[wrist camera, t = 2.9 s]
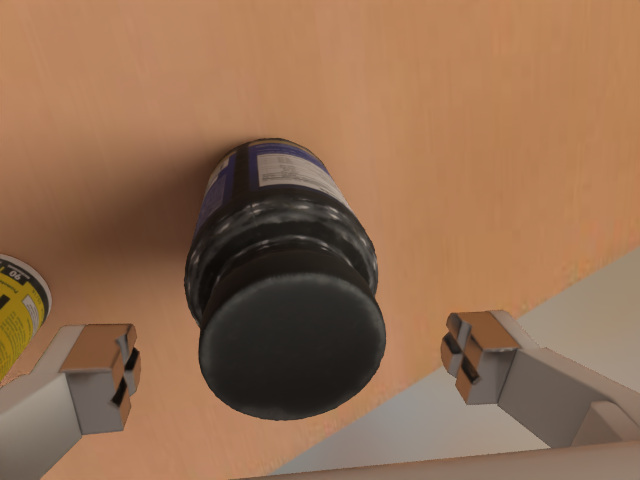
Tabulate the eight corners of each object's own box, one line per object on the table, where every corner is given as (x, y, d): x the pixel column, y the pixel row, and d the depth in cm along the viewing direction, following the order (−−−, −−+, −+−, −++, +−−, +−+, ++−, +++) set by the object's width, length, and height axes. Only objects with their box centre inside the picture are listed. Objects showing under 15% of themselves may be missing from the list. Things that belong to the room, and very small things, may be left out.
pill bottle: (248, 272, 21) (249, 472, 12) (179, 174, 18) (101, 329, 9) (353, 218, 21) (445, 378, 11) (298, 109, 18) (357, 195, 8)
